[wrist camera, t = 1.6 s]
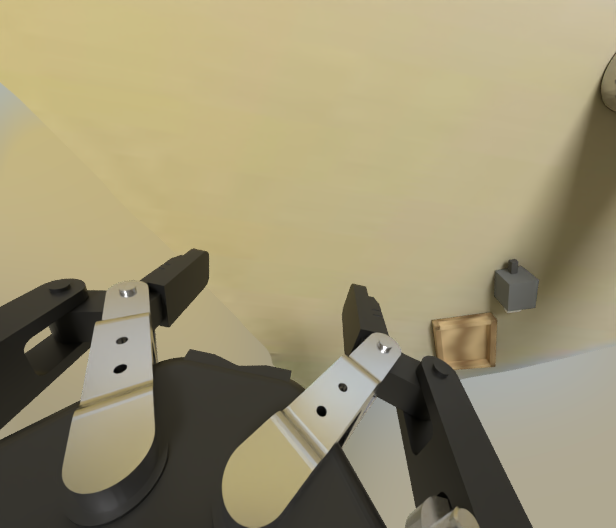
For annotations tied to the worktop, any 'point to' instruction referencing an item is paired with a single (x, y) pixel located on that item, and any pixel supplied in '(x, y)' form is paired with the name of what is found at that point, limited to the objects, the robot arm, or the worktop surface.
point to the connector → (515, 288)
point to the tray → (466, 340)
